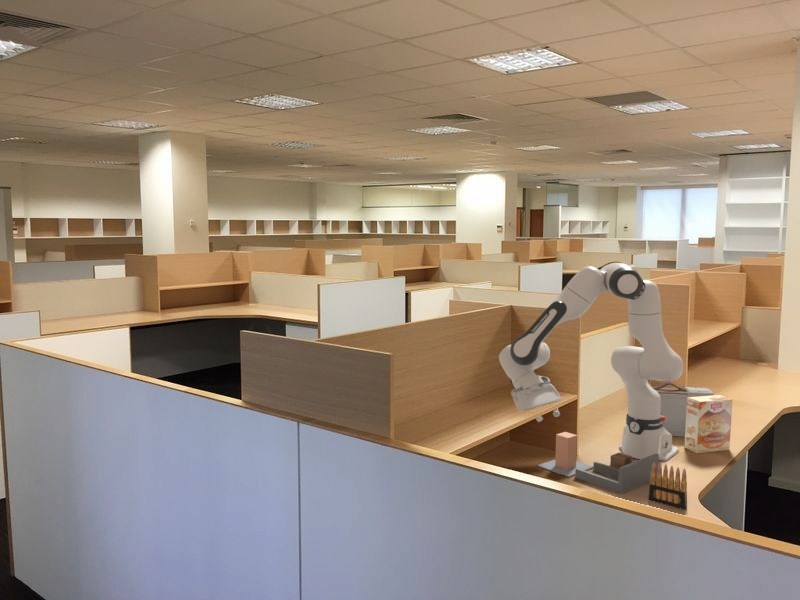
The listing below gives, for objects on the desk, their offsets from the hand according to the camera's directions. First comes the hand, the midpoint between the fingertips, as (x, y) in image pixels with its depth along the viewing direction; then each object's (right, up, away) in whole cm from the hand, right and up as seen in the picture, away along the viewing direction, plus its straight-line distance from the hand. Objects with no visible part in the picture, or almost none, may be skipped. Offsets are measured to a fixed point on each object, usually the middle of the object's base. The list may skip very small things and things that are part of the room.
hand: (549, 418), depth 231 cm
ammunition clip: (+27, -20, -34) cm, 48 cm away
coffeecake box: (+62, -14, +15) cm, 66 cm away
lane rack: (+19, -17, -13) cm, 28 cm away
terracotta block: (+5, -16, -4) cm, 17 cm away
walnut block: (+22, -17, -9) cm, 29 cm away
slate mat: (+5, -16, -4) cm, 17 cm away
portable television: (+60, -12, +36) cm, 71 cm away
